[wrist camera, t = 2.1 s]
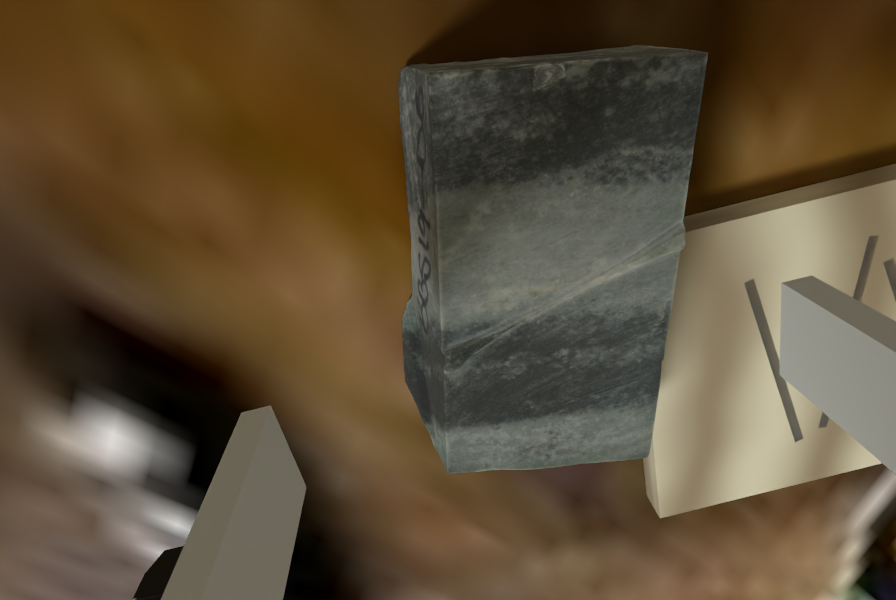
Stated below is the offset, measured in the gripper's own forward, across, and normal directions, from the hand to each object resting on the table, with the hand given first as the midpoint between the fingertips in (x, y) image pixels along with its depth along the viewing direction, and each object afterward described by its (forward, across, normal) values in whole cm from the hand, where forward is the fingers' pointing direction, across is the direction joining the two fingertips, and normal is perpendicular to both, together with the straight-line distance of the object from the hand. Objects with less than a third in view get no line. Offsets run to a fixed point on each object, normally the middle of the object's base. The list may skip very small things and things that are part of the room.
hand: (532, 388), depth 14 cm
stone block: (+9, +1, 0) cm, 9 cm away
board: (+9, +14, -7) cm, 18 cm away
